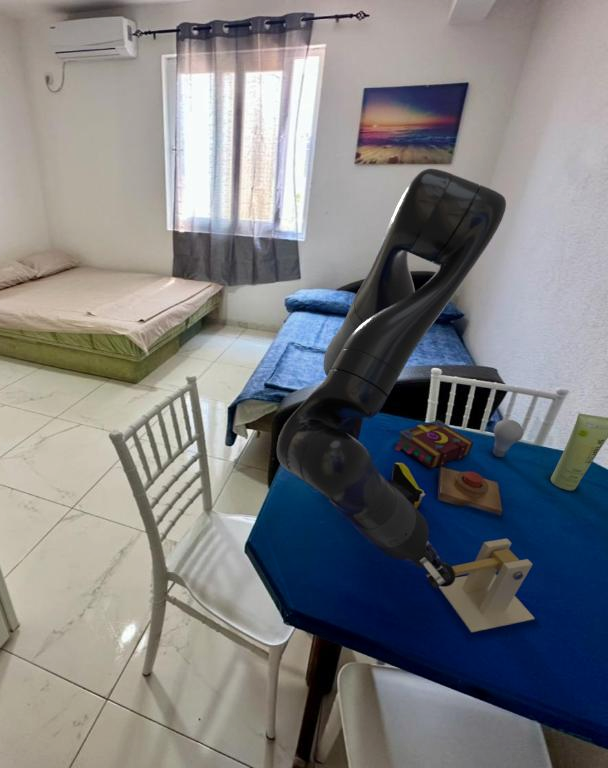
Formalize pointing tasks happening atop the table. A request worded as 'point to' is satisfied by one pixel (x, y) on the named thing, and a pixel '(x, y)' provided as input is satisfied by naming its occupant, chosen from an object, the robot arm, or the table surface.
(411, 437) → the decorative book
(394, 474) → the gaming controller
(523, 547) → the table surface
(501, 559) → the wooden lever handle
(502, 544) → the wooden lever stand
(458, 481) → the button block
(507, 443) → the lightbulb
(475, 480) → the button
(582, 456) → the tube
